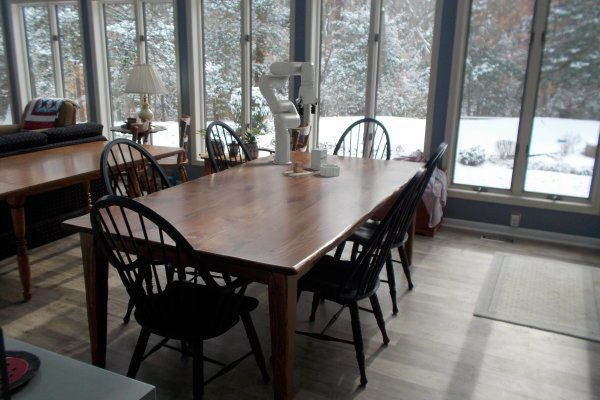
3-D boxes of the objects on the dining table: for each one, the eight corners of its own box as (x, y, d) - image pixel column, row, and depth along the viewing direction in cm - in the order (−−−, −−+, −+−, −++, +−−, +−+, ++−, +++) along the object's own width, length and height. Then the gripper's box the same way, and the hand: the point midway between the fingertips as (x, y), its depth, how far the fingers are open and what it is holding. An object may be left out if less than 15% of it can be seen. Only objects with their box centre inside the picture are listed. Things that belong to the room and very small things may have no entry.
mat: (281, 174, 290) (281, 173, 290) (299, 171, 299) (299, 170, 299) (296, 178, 280) (296, 177, 280) (314, 175, 288) (315, 174, 288)
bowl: (316, 174, 290) (316, 165, 288) (329, 172, 297) (330, 163, 295) (329, 178, 282) (329, 168, 280) (343, 175, 289) (343, 166, 287)
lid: (282, 173, 290) (282, 161, 288) (299, 170, 298) (299, 159, 296) (296, 177, 280) (296, 165, 278) (313, 174, 288) (314, 162, 287)
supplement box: (320, 171, 300) (320, 150, 296) (310, 169, 304) (310, 149, 301) (327, 169, 305) (327, 148, 302) (317, 167, 310) (317, 147, 306)
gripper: (313, 84, 296) (313, 113, 300) (291, 84, 284) (291, 114, 289) (322, 84, 290) (322, 113, 294) (300, 84, 279) (300, 115, 283)
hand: (307, 114), depth 292 cm, fingers open, 9 cm apart
